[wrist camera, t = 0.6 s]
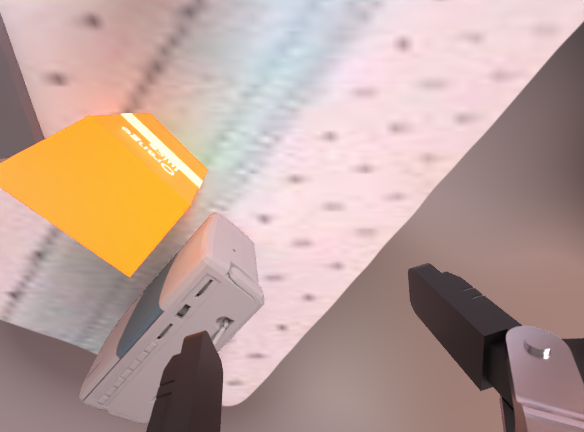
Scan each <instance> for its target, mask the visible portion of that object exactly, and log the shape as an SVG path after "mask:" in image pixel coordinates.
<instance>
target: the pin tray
mask: <svg viewBox="0 0 584 432" xmlns="http://www.w3.org/2000/svg"><path fill="white" fill-rule="evenodd" d="M42 140H44V137H43V134H42V131H41V128H40V125H39V123H38V120H37V117H36V114H35V111H34V108H33V105H32V103H31V100H30V97H29V94H28V91H27V88H26V85H25V83H24V80H23V77H22V74H21V71H20V68H19V65H18V63H17V60H16V57H15V54H14V51H13V48H12V45H11V43H10V40H9V37H8V34H7V31H6V28H5V25H4V23H3V20H2V17H1V14H0V159H1V158H10V157H12V156H14V155H16V154H18V153H20V152H22V151H24V150H25V149H27V148H29V147H31V146H33V145H35V144H37V143H39V142H41V141H42Z"/></svg>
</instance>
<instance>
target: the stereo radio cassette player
mask: <svg viewBox="0 0 584 432" xmlns="http://www.w3.org/2000/svg"><path fill="white" fill-rule="evenodd" d="M263 305H264V296H263V291H262V289H261V287H260V286H259V283H258V274H257V266H256V257H255V249H254V243H253V242H252V241H251V240H250V239H249V238H248V237H247V236H246V235H245V234H244V233H243V232H242V231H241V230H240V229H239V228H237V227H236V226H235V225H234V224H233V223H231V222H230V221H229V220H227V219H226V218H225V217H223V216H222V215H220V214H218V213H213V214H211V215H210V216H209V217H208V219H207V220H206V221H205V222H204V223H203V224H202V225H201V227H200V228H199V229H198V230H197V231H196V232H195V233H194V235H193V236H192V237H191V238H190V239H189V240H188V242H187V243H186V244H185V245H184V246H183V247H182V248H181V250H180V251H179V252H178V253H177V254H176V255H175V256H174V258H173V259H172V260H171V261H170V262H169V263H168V264H167V266H166V267H165V268H164V269H163V270H162V271H161V273H160V274H159V275H158V276H157V277H156V278H155V279H154V281H153V282H152V283H151V284H150V285H149V286H148V287H147V289H146V290H145V291H144V292H143V293H142V294H141V295H140V297H139V298H138V299H137V300H136V301H135V302H134V303H133V305H132V306H131V307H130V308H129V309H128V310H127V312H126V313H125V314H124V315H123V316H122V317H121V319H120V320H119V321H118V322H117V324H116V325H115V327H114V328H113V330H112V332H111V333H110V335H109V336H108V338H107V340H106V341H105V343H104V345H103V346H102V348H101V350H100V352H99V354H98V355H97V357H96V359H95V361H94V363H93V365H92V367H91V369H90V371H89V373H88V375H87V376H86V378H85V380H84V383H83V386H82V388H81V391H80V394H79V399H80V400H81V401H82V403H83V404H85V405H88V406H91V407H94V408H97V409H99V410H101V409H103V408H104V409H106V411H107V412H108V413H109V414H110V415H113V416H116V417H120V418H123V419H127V420H130V421H134V422H137V423H148V422H149V420H150V417H151V413H152V409H153V406H154V402H155V400H156V395H157V392H158V388H159V387H160V385H159V384H160V381H161V377H162V374H163V370H164V368H165V367H166V365H167V364H168V362H169V361H170V359H171V358H172V356H173V355H177V354H180V353H181V349H182V344H183V340H184V338H185V337H186V336H188V335H192V334H195V333H198V332H201V331H205V330H206V331H207V332H208V333H209V335H210V338H211V340H212V342H213V344H214V346H215V348H216V351H217V352H218V351H219V350H220V349H221V348H222V347H223V346H224V345H225V344H226V343H227V342H228V341H229V340H230V339H231V338H232V337H233V336H234V334H235V333H236V332H237V331H238V330H239V329H240V328H241V327H242V326H243V325H244V324H245V323H246V322H247V321H248V320H249V319H250V318H251V317H252V316H253V315H254V314H255V313H256V312H257V311H258V310H259V309H260V308H261V307H262V306H263Z"/></svg>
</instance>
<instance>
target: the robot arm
mask: <svg viewBox="0 0 584 432" xmlns="http://www.w3.org/2000/svg"><path fill="white" fill-rule="evenodd" d="M408 279H409V293H410V302H411V305H412V307H413V310H414V311H415V313H416V314H417V316H418V317H419V318H420V319H421V320H422V322H423V323H424V324H425V325H426V327H428V329H429V330H430V331H431V332H432V334H433V335H434V336H435V337H436V338H437V340H438V341H439V342H440V343H441V344H442V345H443V347H444V348H445V349H446V350H447V351H448V353H449V354H450V355H451V356H452V357H453V358H454V360H455V361H456V362H457V363H458V364H459V366H460V367H461V368H462V369H463V370H464V372H465V373H466V374H467V375H468V376H469V378H470V379H471V380H472V381H473V382H474V383H475V385H476V386H477V387H478V388H479V389H480V391H482V390H485V389H488V388H491V387H494V388H495V389H496V390H497V391H498V393H499V394H500V407H501V415H502V423H503V431H504V432H584V338H582V339H560V338H559V337H558V336H556V335H555V334H553V333H551V332H549V331H546V330H544V329H541V328H537V327H532V326H522V325H521V324H519V323H518V322H517V321H516V320H514V319H513V318H512V317H510V316H509V315H508V314H507V313H505V312H504V311H503V310H502V309H501V308H499V307H498V306H497V305H495V304H494V303H493V302H492V301H490V300H489V299H488V298H486V297H485V296H482V294H481V293H480V292H479V291H478V290H476V289H473V287H472V286H471V285H470V284H469V283H467V282H466V281H465V280H463V279H462V278H461V277H458V276H456V275H453V274H451V273H449V272H444V273H441V272H440V271H438V270H437V269H436V268H435V267H434V266H432V265H431V264H429V263H426V264H423V265H420V266H416V267H413V268H410V269H409V270H408ZM159 385H160V387H159V388H158V392H157V395H156V400H155V402H154V406H153V409H152V413H151V417H150V420H149V424H148V427H147V431H146V432H220V424H221V406H222V388H223V368H222V363H221V360H220V357H219V355H218V353H217V351H216V348H215V346H214V344H213V342H212V340H211V338H210V335H209V333H208V332H207V331H206V330H205V331H201V332H198V333H195V334H192V335H188V336H186V337H185V338H184V340H183V344H182V349H181V353H180V354H177V355H173V356H172V358H171V359H170V361H169V362H168V364H167V365H166V367H165V368H164V370H163V374H162V377H161V381H160V384H159Z"/></svg>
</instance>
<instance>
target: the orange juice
mask: <svg viewBox="0 0 584 432" xmlns="http://www.w3.org/2000/svg"><path fill="white" fill-rule="evenodd" d="M207 170H208V169H207V168H206V167H205V166H204V165H202V164H201V163H200V162H199V161H198V160H197V159H196V158H195V157H194V156H193V155H192V154H191V153H190V152H189V151H188V150H187V149H186V148H185V147H184V146H183V145H182V144H181V143H180V142H179V141H178V140H177V139H176V138H175V137H174V136H173V135H172V134H171V133H170V132H169V131H168V130H167V129H166V128H165V127H164V126H163V125H162V124H161V123H160V122H159V121H158V120H157V119H156V118H155V117H153V116H152V115H151V114H150V113H138V114H132V113H126V114H120V115H101V116H86V117H85V118H84V119H82V120H80V121H78V122H76V123H75V124H73V125H71V126H69V127H67V128H65V129H63V130H61V131H59V132H58V133H56V134H54V135H52V136H50V137H48V138H46V139H44V140H42V141H41V142H39V143H37V144H35V145H33V146H31V147H29V148H27V149H25V150H24V151H22V152H20V153H18V154H16V155H14V156H12V157H10V158H9V159H7V160H5V161H3V162H1V163H0V188H2V189H3V190H4V191H6V192H7V193H9V194H10V195H12V196H13V197H15V198H16V199H17V200H19V201H20V202H22V203H23V204H25V205H26V206H28V207H29V208H30V209H32V210H33V211H35V212H36V213H38V214H39V215H40V216H42V217H43V218H45V219H46V220H48V221H49V222H51V223H52V224H53V225H55V226H56V227H58V228H59V229H61V230H62V231H63V232H65V233H66V234H68V235H69V236H71V237H72V238H74V239H75V240H76V241H78V242H79V243H81V244H82V245H84V246H85V247H86V248H88V249H89V250H91V251H92V252H94V253H95V254H97V255H98V256H99V257H101V258H102V259H104V260H105V261H107V262H108V263H109V264H111V265H112V266H114V267H115V268H117V269H118V270H120V271H121V272H122V273H124V274H125V275H127V276H128V277H131V275H132V274H133V273H134V272H135V271H136V270H137V268H138V267H139V266H140V265H141V264H142V262H143V261H144V260H145V259H146V258H147V256H148V255H149V254H150V253H151V252H152V251H153V249H154V248H155V247H156V246H157V245H158V243H159V242H160V241H161V240H162V239H163V237H164V236H165V235H166V234H167V233H168V232H169V230H170V229H171V228H172V227H173V226H174V224H175V223H176V222H177V221H178V220H179V218H180V217H181V216H182V215H183V214H184V213H185V211H186V210H187V209H188V208H189V207H190V205H191V203H192V201H193V199H194V197H195V195H196V193H197V191H198V189H199V188H200V186H201V184H202V182H203V179H204V176H205V174H206V172H207Z"/></svg>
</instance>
